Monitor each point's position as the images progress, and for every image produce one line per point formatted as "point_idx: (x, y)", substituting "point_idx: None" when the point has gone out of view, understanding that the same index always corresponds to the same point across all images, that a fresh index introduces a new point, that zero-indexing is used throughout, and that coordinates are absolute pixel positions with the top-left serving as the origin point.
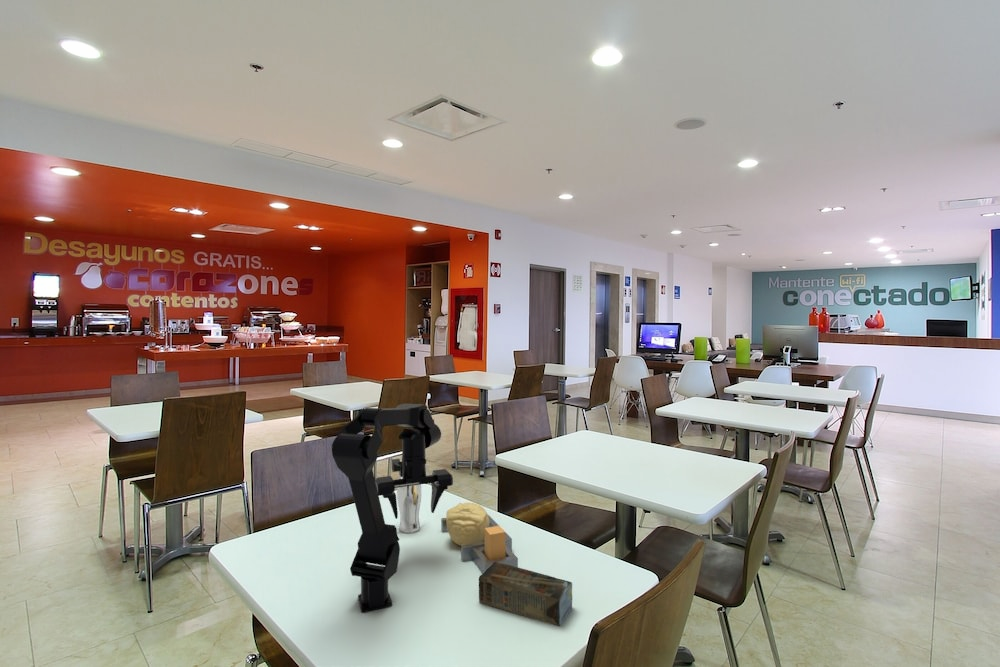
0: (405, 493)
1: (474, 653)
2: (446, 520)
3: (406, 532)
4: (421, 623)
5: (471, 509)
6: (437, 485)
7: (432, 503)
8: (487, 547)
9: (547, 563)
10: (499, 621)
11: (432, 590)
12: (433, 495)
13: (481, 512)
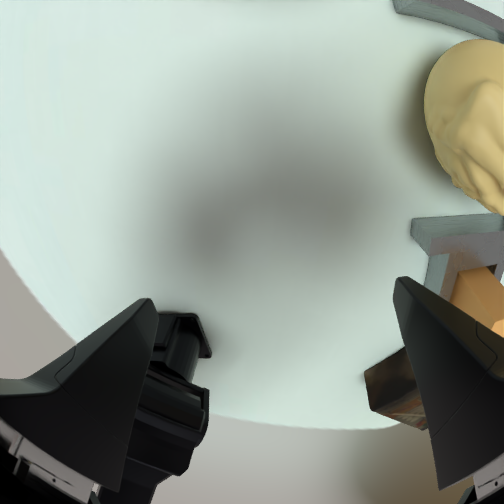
0: None
1: (312, 424)
2: (451, 135)
3: None
4: (260, 390)
5: None
6: (475, 483)
7: (417, 348)
8: (465, 309)
9: None
10: (365, 399)
11: (297, 332)
12: (446, 400)
13: None
